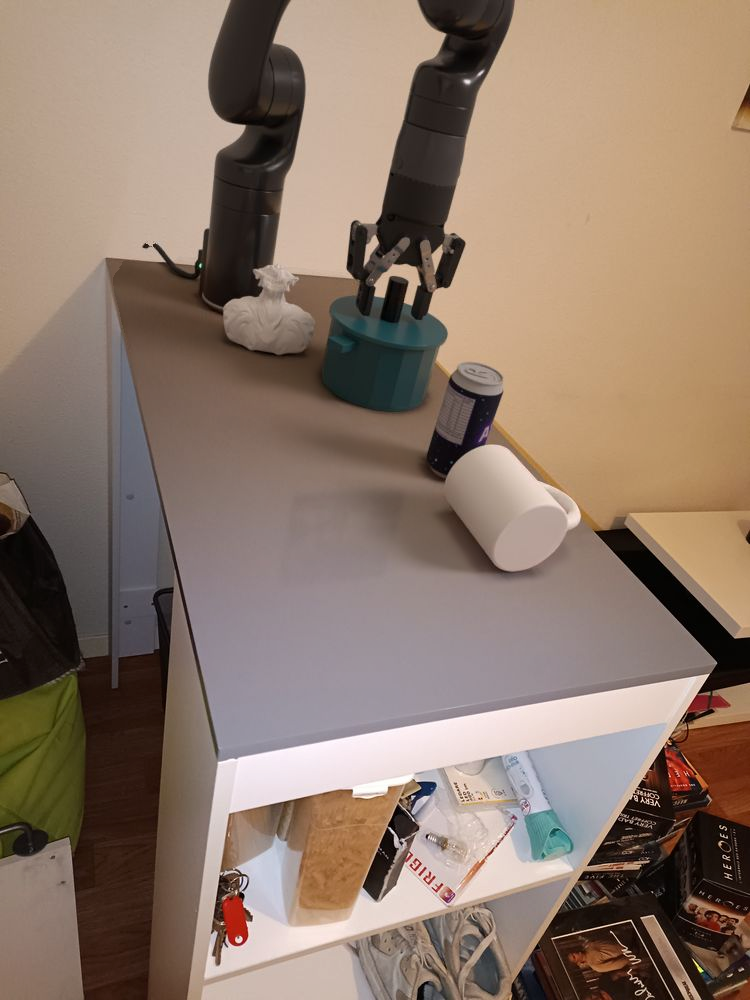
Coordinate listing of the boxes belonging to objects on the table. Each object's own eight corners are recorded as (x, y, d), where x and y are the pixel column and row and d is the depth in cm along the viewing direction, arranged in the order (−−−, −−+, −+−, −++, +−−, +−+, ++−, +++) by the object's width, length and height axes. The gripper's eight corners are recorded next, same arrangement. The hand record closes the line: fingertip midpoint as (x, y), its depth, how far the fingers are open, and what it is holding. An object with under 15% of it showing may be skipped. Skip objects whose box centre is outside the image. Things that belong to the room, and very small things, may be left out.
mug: (480, 576, 67) (508, 506, 63) (434, 510, 74) (456, 443, 70) (584, 565, 72) (616, 499, 68) (531, 505, 79) (557, 442, 75)
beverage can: (471, 490, 79) (506, 391, 73) (420, 475, 79) (450, 375, 73) (475, 464, 84) (508, 369, 77) (427, 450, 84) (456, 354, 78)
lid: (303, 313, 89) (312, 262, 85) (379, 298, 99) (390, 252, 96) (396, 364, 82) (409, 312, 79) (467, 342, 93) (482, 295, 89)
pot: (284, 377, 92) (294, 312, 87) (379, 350, 105) (393, 293, 100) (365, 427, 86) (381, 360, 81) (455, 392, 99) (473, 333, 94)
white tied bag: (307, 366, 101) (318, 286, 101) (313, 353, 93) (325, 267, 94) (218, 351, 98) (230, 269, 99) (217, 336, 91) (230, 248, 92)
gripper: (466, 172, 86) (430, 308, 96) (352, 153, 81) (325, 298, 90) (495, 191, 81) (454, 332, 90) (375, 171, 75) (344, 324, 84)
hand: (390, 315), depth 90 cm, fingers open, 6 cm apart
